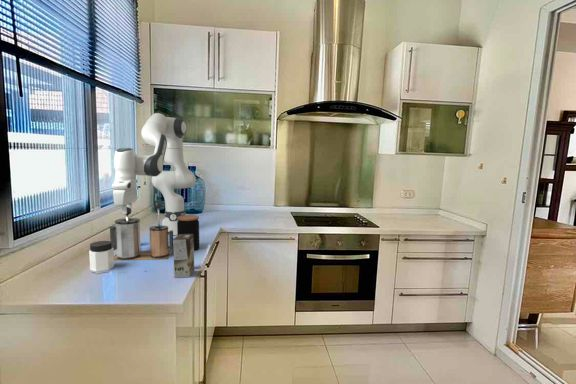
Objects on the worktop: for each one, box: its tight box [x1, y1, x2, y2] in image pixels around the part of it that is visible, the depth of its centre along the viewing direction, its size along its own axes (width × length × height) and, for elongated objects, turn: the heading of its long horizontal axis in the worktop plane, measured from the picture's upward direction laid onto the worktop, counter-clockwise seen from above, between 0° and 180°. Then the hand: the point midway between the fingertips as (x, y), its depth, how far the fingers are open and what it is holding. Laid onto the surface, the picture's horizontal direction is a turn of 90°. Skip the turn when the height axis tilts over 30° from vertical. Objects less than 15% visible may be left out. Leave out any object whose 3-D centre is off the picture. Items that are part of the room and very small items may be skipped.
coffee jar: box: [177, 214, 200, 252], centre depth 168 cm, size 11×11×18 cm
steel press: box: [109, 217, 142, 261], centre depth 154 cm, size 10×12×18 cm
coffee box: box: [173, 234, 195, 278], centre depth 137 cm, size 9×6×16 cm
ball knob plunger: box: [154, 201, 163, 228], centre depth 155 cm, size 6×6×17 cm
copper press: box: [148, 225, 174, 258], centre depth 157 cm, size 8×10×14 cm
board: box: [114, 249, 174, 262], centre depth 157 cm, size 14×26×1 cm, turn 98°
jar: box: [88, 240, 115, 275], centre depth 139 cm, size 9×8×12 cm
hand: (127, 212), depth 153 cm, fingers closed on steel plunger, 4 cm apart
